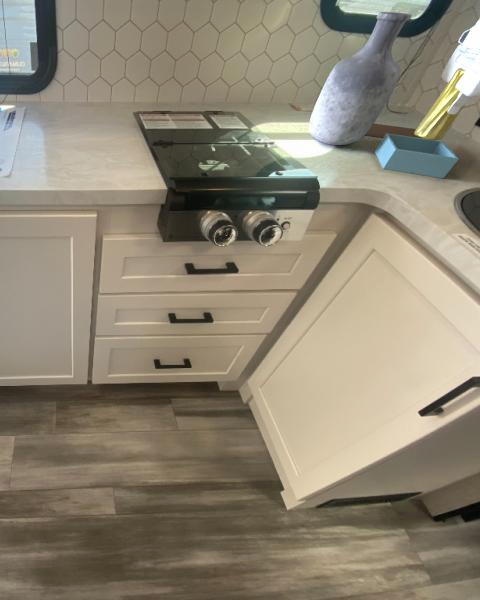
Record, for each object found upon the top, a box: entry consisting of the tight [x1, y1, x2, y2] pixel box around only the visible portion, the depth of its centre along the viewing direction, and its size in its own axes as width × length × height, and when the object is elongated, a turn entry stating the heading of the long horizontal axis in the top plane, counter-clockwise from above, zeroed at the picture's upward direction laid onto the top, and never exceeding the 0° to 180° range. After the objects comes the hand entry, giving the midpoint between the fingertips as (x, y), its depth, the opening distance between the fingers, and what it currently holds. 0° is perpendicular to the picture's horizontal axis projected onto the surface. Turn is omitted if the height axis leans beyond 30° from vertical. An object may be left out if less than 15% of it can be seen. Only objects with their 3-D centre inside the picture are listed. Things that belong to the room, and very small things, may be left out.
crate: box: [374, 133, 459, 179], centre depth 91 cm, size 13×13×5 cm
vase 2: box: [414, 68, 467, 141], centre depth 83 cm, size 6×6×14 cm
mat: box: [364, 123, 421, 139], centre depth 111 cm, size 18×14×1 cm
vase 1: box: [308, 11, 413, 146], centre depth 93 cm, size 16×16×30 cm
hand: (446, 109), depth 83 cm, fingers closed on vase 2, 5 cm apart
